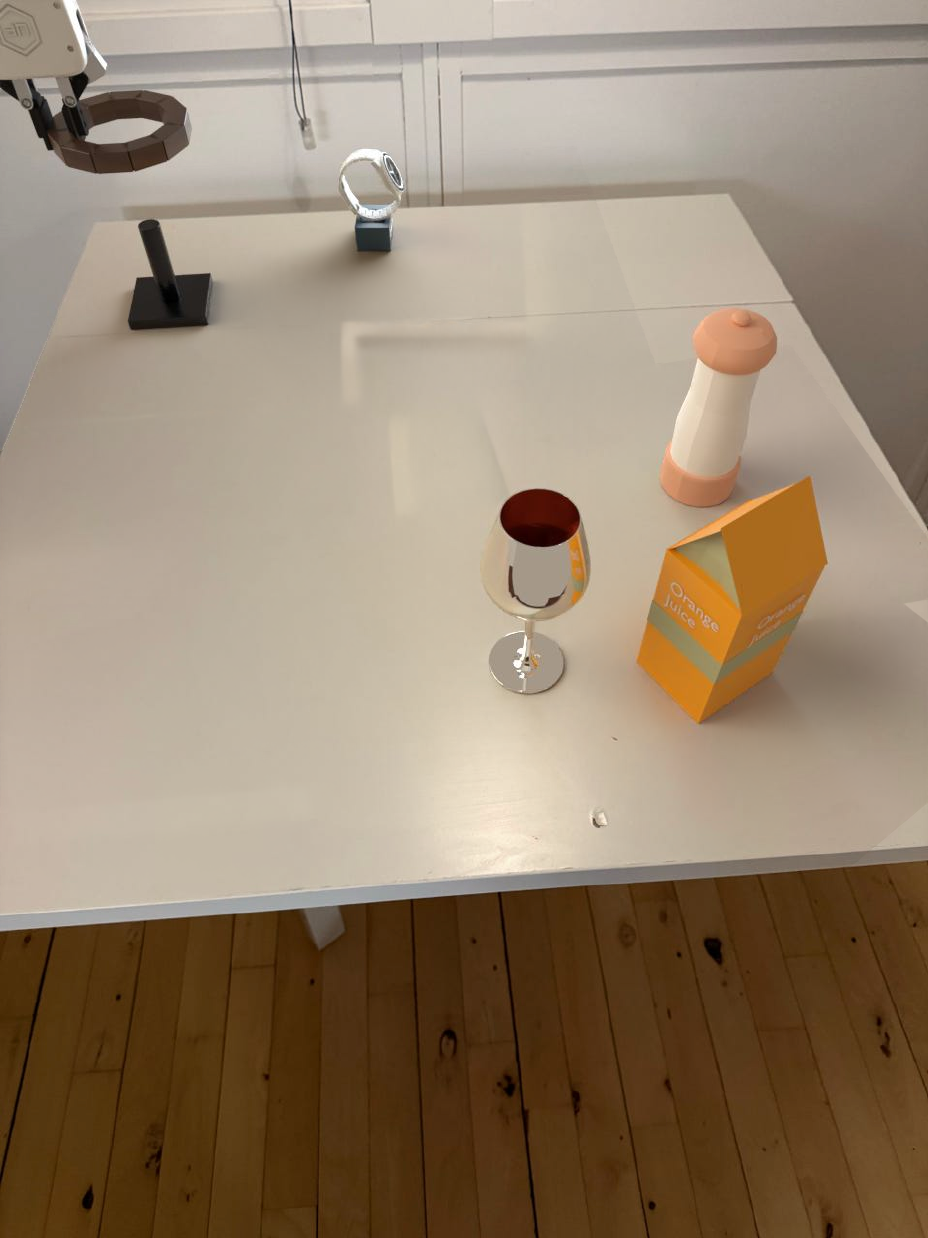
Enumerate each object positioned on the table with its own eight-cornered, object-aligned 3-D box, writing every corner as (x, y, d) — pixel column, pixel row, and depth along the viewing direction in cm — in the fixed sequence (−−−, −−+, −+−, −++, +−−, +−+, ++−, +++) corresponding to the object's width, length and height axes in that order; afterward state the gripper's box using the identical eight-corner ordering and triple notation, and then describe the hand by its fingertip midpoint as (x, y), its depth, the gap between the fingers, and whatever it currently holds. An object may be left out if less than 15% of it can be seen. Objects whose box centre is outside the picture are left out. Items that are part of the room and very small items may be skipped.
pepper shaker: (716, 451, 92) (765, 283, 77) (744, 500, 88) (802, 333, 73) (649, 461, 92) (685, 294, 76) (674, 512, 87) (718, 345, 72)
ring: (45, 177, 88) (37, 156, 87) (68, 113, 97) (61, 93, 95) (185, 169, 89) (179, 148, 88) (195, 106, 97) (191, 86, 96)
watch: (406, 250, 115) (401, 164, 106) (343, 250, 115) (333, 164, 106) (408, 227, 119) (403, 141, 110) (347, 227, 119) (337, 141, 110)
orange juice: (634, 661, 77) (678, 494, 61) (709, 613, 80) (770, 443, 64) (699, 726, 73) (764, 566, 57) (775, 673, 76) (857, 508, 60)
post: (130, 329, 105) (101, 248, 97) (139, 285, 111) (113, 205, 103) (207, 324, 106) (186, 243, 98) (213, 281, 111) (192, 201, 103)
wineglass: (561, 618, 80) (582, 469, 65) (584, 696, 75) (613, 553, 60) (470, 631, 79) (471, 483, 64) (488, 710, 74) (493, 569, 60)
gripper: (-117, -55, 75) (-20, 165, 90) (77, -64, 76) (141, 156, 91) (-93, -85, 80) (-4, 130, 94) (90, -93, 81) (149, 122, 95)
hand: (67, 141), depth 92 cm, fingers closed on ring, 2 cm apart
